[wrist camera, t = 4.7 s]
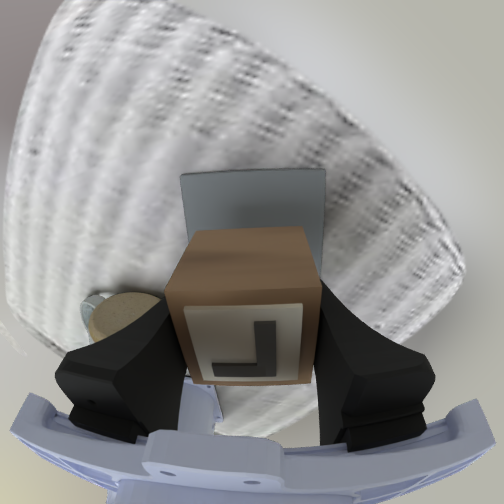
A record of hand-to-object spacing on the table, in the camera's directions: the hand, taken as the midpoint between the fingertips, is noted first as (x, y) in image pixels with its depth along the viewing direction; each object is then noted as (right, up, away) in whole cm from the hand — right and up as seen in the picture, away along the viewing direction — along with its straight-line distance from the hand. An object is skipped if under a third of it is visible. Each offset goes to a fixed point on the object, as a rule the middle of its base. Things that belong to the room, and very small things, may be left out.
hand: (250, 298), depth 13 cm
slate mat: (0, +3, +6) cm, 7 cm away
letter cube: (0, +1, +1) cm, 2 cm away
